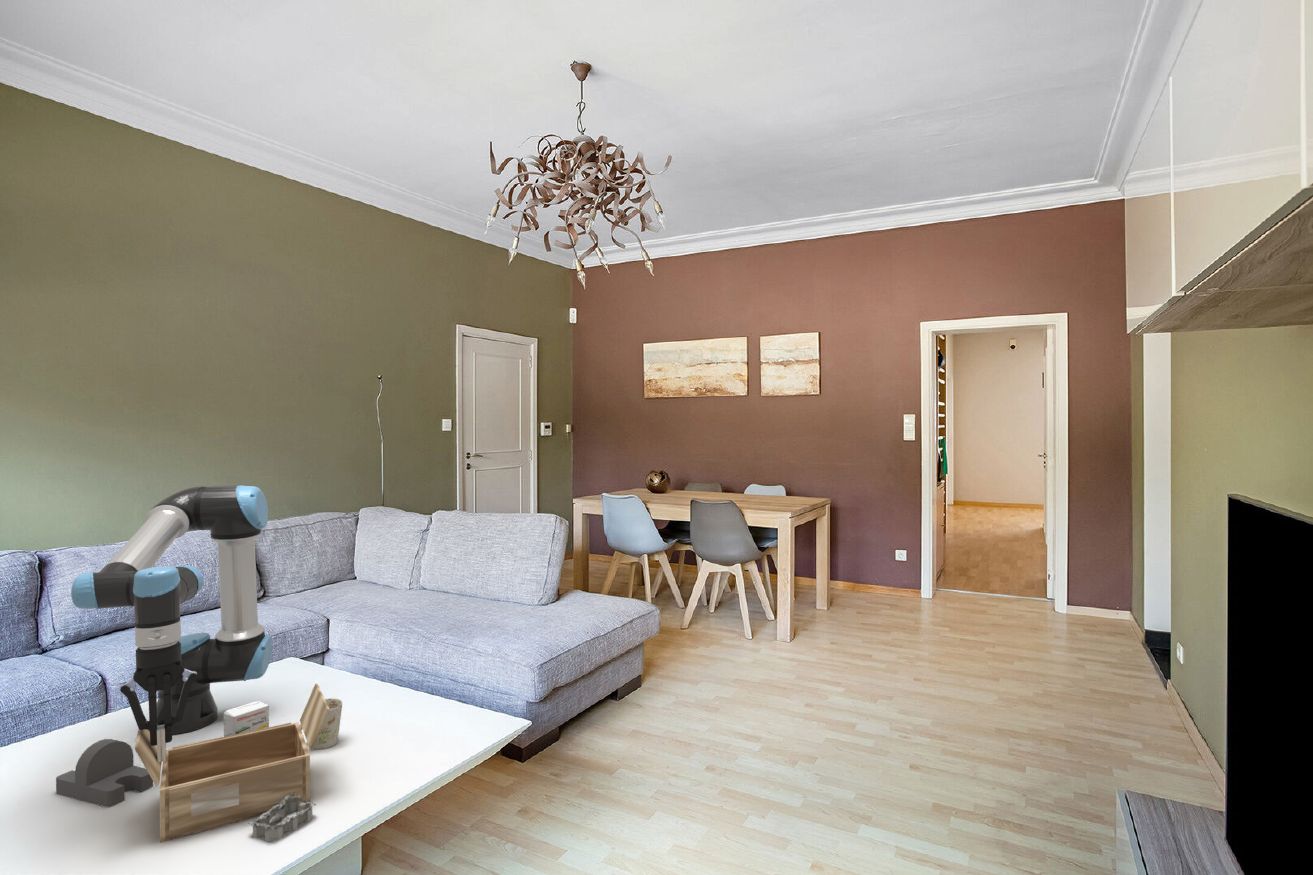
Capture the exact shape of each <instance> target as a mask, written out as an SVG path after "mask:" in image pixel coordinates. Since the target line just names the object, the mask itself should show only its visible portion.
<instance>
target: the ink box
mask: <svg viewBox="0 0 1313 875" xmlns="http://www.w3.org/2000/svg"><path fill="white" fill-rule="evenodd" d="M269 707H270V706H269V704H267V703H264V702H263V701H260V700H256V701H253V702H250V703H249V702H248V703H246V704H243V705H240V706H237V707H236V706H235V707H234V708H230V709H227V710H226V711H224V712H223V737H225V736H230V735H234V734H239V733H244V732H249V731H253V730H258V729H263V728H268V727H270V712H269V711H270V708H269Z"/></svg>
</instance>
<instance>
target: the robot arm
mask: <svg viewBox="0 0 1313 875" xmlns="http://www.w3.org/2000/svg"><path fill="white" fill-rule="evenodd" d="M268 516H269V508H268V502H267V499H266V496H265V494H264V492H263V491H262V489H260V488H259V487H258V486H254V485H242V484H241V485H240V484H239V485H238V484H237V485H222V486H221V485H220V486H217V485H213V486H193V487H189V488H184V489H183V490H180V491H178V492H175V493H173V494H171V495H169V496H168V497H166V498H163V499H162V500H161V501H160V502H158V503H157V504H156V505H154V506H153V507H152V508H151V509H150V510H149V512H147V514H146V516H145V520H144V521H145V522H144V523H143V524H142V525H141V526H140V528H139V529H137V531H136V532H135V533H134V534H133V535H132V536H131V537H130V539H129V540H127V542H125V543H124V545H123V546H122V547H121V548H120V549H119V550H118V551H117V553H115V555H114V556H112V558H111V559H110V560H109V561H108V562H107V563H106V564H105V565H104V567H102V568H101V570H100V571H98V572H95V571H91V572H86V573H82V574H79V575H78V576H77V577H76V578H75V579H74V580H73V583H72V585H71V590H70V596H71V601H72V603H73V605H74V606H75V607H76V608H78V609H81V610H82V609H83V610H89V609H90V610H91V609H96V610H100V609H111V608H113V609H114V608H115V609H116V608H126V607H127V608H128V607H129V608H130V607H134V609H133V610H134V640H135V646H136V647H137V648H136V650H135V672H134V673H133V676H132V677H131V679H129V680H128V681H127V682H123V683H122V684H121V686H120V690H119V691H120V692H121V693H122V694H123V695H124V696H125V697H126V698H127V701H128V703H129V707H130V709H131V712H132V715H133V718H134V719H135V722H136V726H137V728H138V729H139V730H143V729H145V730H149V731H150V744H151V746H155V745H157V754H158V762H162V763H163V761H166V750H167V749H166V748H167V745H166V743H168V744H169V743H171V742H172V741H173V735H178V734H185V733H188V732H189V733H190V732H193V731H196V730H200V729H202V728H205V727H207V726H210V725H211V724H212V723H214V722H215V721H217V719H218V717H219V716H218V715H219V712H218V706H217V704H216V701H215V699H214V697H213V694H212V692H211V684H217V683H227V682H230V683H231V682H246V681H250V680H257V679H260V678H262V677H263V676H265V674H266V672H267V670H268V668H269V665H270V663H271V662H270V661H271V657H272V654H273V642H274V639H273V636H272V635H271V634H265V633H266V632H265V627H264V626H263V625H262V624H260V623H259V620H258V616H259V614H258V591H257V566H256V564H257V561H256V540H257V538H258V537H259V536H261V533H262V529H265V528H266V526H267V524H268V522H269V518H268ZM192 531H210V532H209V533H210V539H211V540H212V541H213V542H216V543H217V552H218V554H217V555H218V556H217V557H218V576H219V578H218V580H219V596H220V598H219V599H220V600H219V601H220V620H221V621H220V622H221V625H220V626H221V629H219V630H218V632H217V633H215V637H214V638H211V635H210V634H209V633H208V632H195V633H191V634H186V635H182V631H181V628H182V627H181V624H182V623H181V605H182V604H183V603H186V602H187V601H191V600H192V599H193V598H195V596H196V595H197V594H198V593H200V591H201V590H202V589H203V586H204V577H203V574H202V573H201V572H200V570H199V569H198V568H196V567H194V566H191V565H181V566H170V565H167V566H166V565H164V566H163V565H162V566H154V565H156V563H157V562H158V561H159V559H160V558H161V557H162V556H163V555H164V553H165V552H166V551H167V549H168V548H169V547H170V546H172V544H173V542H174V540H176V539H178V538H181V537H182V536H184V535H185V534H187V533H188V532H192ZM181 635H182V636H181ZM136 684H137V685H138V686H140V687H141V688H142V689H143V690H144V691H145V692H147V698H148V715H149V716H148V718H149V719H148V720H147V721H146V719H147V718H146V716H145V714H144V711H143V708H142V705H141V702H140V700H139V698H138V695H137V693H136V692H137V691H135V690H136V689H137V685H136ZM145 718H146V719H145Z"/></svg>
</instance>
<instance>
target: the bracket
mask: <svg viewBox="0 0 1313 875" xmlns="http://www.w3.org/2000/svg"><path fill="white" fill-rule="evenodd" d="M153 787H154V782H153V780H152V778H151V776H150V775H149V773H148V771H147V769H146V768H145V767H141V766H136V765H134V750H133V748H132V747H131V745H130V744H129V743H127V742H124V741H122V740H118V739H112V738H104V739H101V740H98V741H96V742H94V743H93V744H91V745H89V747H87V748H86V749H85V750H84V751H83V752H82V753H81V755H80V757H79V758H78V760H77V762H76V765H75V770H73V769H72V770H69V771H67V772H65V773H62V774H60V775H57V776H56V777H55V794H56V795H59V796H63V797H67V798H71V799H74V800H79V801H82V802H85V803H89V804H93V805H98V806H101V807H105V808H111V807H114V806H116V805H119V804H121V803H123V802H124V801H126V800H125V797H126V796H125V795H126V794H125V793H126V792H128V791H135V792H140V793H143V792H146V791H148V790H149V789H152V788H153Z"/></svg>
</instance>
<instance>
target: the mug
mask: <svg viewBox="0 0 1313 875" xmlns="http://www.w3.org/2000/svg"><path fill="white" fill-rule="evenodd" d="M325 700H326V703H327V705H328V707H329V711H328V714H327V716H326V718H325V721H324V723H323V726H322V728H321V730H320V733H319V735H318V738H317V740H316V742H315V745H314V747H313V749H314V750H325V749H329V748H331V747H333V746H335V745H336V744H337V743H338V741H339V735H340V734H339V733H340V726H341V719H342V718H341V717H342V711H343V701H342V700H341V699H339V698H325ZM299 725H300V728H301V731H302V732H303V729H302V726H301V723H299ZM305 742H306V745H307V747H309V746H308V743H307V741H305Z"/></svg>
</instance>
